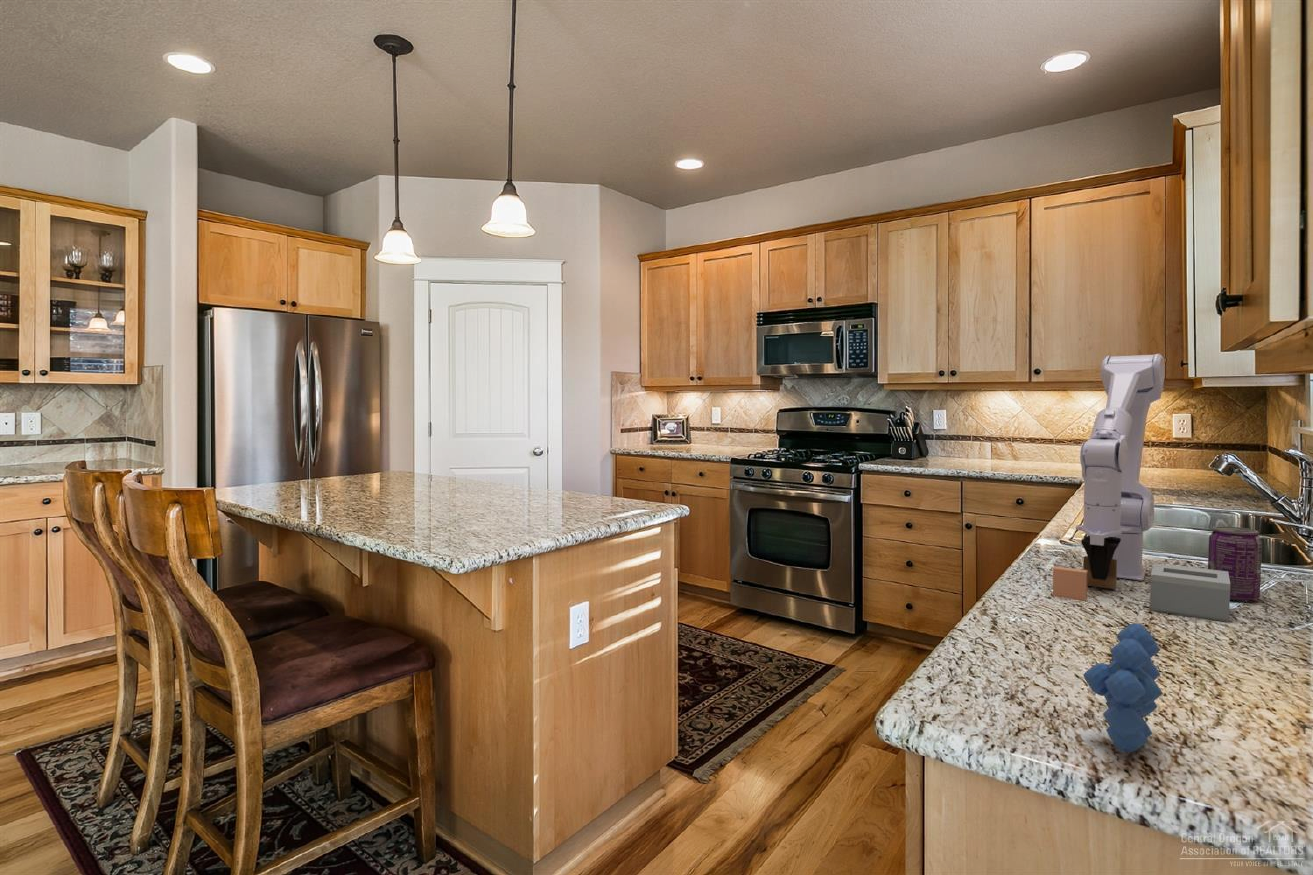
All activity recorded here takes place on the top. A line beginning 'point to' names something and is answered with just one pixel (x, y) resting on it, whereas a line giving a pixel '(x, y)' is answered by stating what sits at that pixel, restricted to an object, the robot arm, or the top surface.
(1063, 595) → the block
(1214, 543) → the beverage can
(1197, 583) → the coin box
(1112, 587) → the block
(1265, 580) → the top surface
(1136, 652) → the grapes
